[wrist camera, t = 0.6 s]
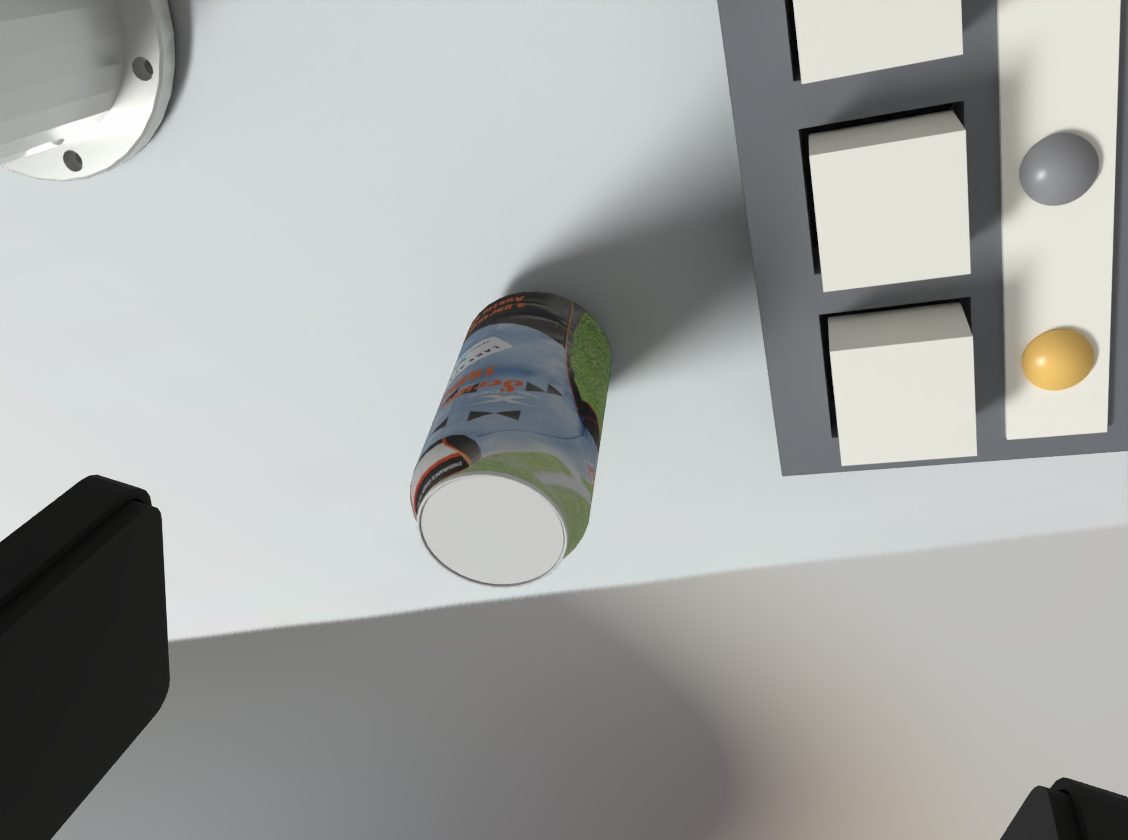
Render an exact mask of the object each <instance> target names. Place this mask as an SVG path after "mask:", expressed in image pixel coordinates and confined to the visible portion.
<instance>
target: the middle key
mask: <svg viewBox="0 0 1128 840" xmlns="http://www.w3.org/2000/svg"><path fill="white" fill-rule="evenodd" d="M809 159H810V168H811V178H812V188H813V197H814V207H815V216H816V226H817V235H818V245H819V254H820V264H821V273H822V283H823V292H829V291H837V290H845V289H853V288H861V287H869V286H877V285H885V284H893V283H901V282H909V281H917V280H925V279H933V278H941V277H949V276H957V275H965V274H971V268H970V239H969V211H968V182H967V154H966V130H965V128H964V127H963V125H962V124H961V122H960V121H959V119H958V118H957V116H956V115H955V113H954V112H953V110H947V111H942V112H936V113H930V114H924V115H918V116H912V117H906V118H901V119H895V120H889V121H883V122H877V123H871V124H866V125H860V126H854V127H848V128H842V129H836V130H830V131H825V132H819V133H813V134H809Z"/></svg>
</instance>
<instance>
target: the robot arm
mask: <svg viewBox="0 0 1128 840" xmlns="http://www.w3.org/2000/svg"><path fill="white" fill-rule="evenodd" d="M151 65H152V66H151ZM174 70H175V47H174V31H173V26H172V21H171V16H170V11H169V6H168V1H167V0H0V166H2V167H4V168H6V169H8V170H10V171H12V172H15V173H19V174H22V175H26V176H29V177H33V178H36V179H40V180H52V181H64V182H65V181H72V180H79V179H86V178H90V177H93V176H96V175H98V174H101V173H104V172H107V171H109V170H112V169H114V168H115V167H117V166H119V165H121V164H123V163H124V162H126V161H128V160H130V159H131V158H133V157H134V156H135V155H136V154H137V153H138V152H139V151H140V150H141V149H142V148H143V147H144V146H145V145H146V144H147V143H148V142H149V141H150V139H151V138H152V136H153V134H154V133H155V131H156V130H157V128H158V126H159V125H160V123H161V122H162V120H163V117H164V114H165V111H166V108H167V105H168V102H169V99H170V97H171V93H172V85H173V78H174ZM168 656H169V655H168V635H167V615H166V595H165V575H164V555H163V535H162V518H161V513H160V511H159V509H158V508H156V507H153V506H152V504H151V499H150V496H149V494H148V493H147V491H146V490H143V489H141V488H138V487H135V486H132V485H128V484H125V483H122V482H119V481H116V480H112V479H109V478H106V477H103V476H100V475H91V476H88V477H86V478H84V479H82V480H81V481H79V482H78V483H77V484H75V485H74V486H73V487H72V488H70V489H69V490H68V491H66V492H65V493H64V494H62V495H61V496H60V497H59V498H57V499H56V500H55V501H53V502H52V503H51V504H49V505H48V506H47V507H45V508H44V509H43V510H42V511H40V512H39V513H38V514H36V515H35V516H34V517H32V518H31V519H30V520H29V521H27V522H26V523H25V524H23V525H22V526H21V527H19V528H18V529H17V530H15V531H14V532H13V533H12V534H10V535H9V536H8V537H6V538H5V539H4V540H2V541H1V542H0V840H51V838H52V837H53V836H54V835H55V834H56V832H57V831H58V830H59V829H60V828H61V826H62V825H63V824H64V823H65V822H66V821H67V819H68V818H69V817H70V816H71V815H72V813H73V812H74V811H75V810H76V809H77V807H78V806H79V805H80V804H81V803H82V801H83V800H84V799H85V798H86V797H87V796H88V794H89V793H90V792H91V791H92V790H93V788H94V787H95V786H96V785H97V784H98V783H99V781H100V780H101V779H102V778H103V777H104V775H105V774H106V773H107V772H108V771H109V769H110V768H111V767H112V766H113V765H114V763H115V762H116V761H117V760H118V759H119V757H120V756H121V755H122V754H123V753H124V752H125V750H126V749H127V748H128V747H129V746H130V744H131V743H132V742H133V741H134V740H135V738H136V737H137V736H138V735H139V734H140V733H141V731H142V730H143V729H144V728H145V727H146V726H147V724H148V723H149V722H150V721H151V720H152V718H153V717H154V716H155V715H156V713H157V712H158V711H159V709H160V708H161V706H162V704H163V702H164V700H165V697H166V695H167V692H168V688H169V681H170V675H169V657H168ZM1000 840H1128V797H1126V796H1123V795H1120V794H1117V793H1114V792H1110V791H1107V790H1104V789H1101V788H1097V787H1094V786H1091V785H1088V784H1084V783H1082V782H1078V781H1075V780H1072V779H1069V778H1061V779H1059V780H1057V781H1056V782H1055V783H1054V784H1053V785H1052V787H1051V788H1046V787H1043V786H1037V787H1035V788H1034V789H1033V790H1032V791H1031V792H1030V794H1029V795H1028V797H1027V798H1026V800H1025V801H1024V803H1023V805H1022V806H1021V808H1020V809H1019V811H1018V812H1017V814H1016V816H1015V817H1014V819H1013V820H1012V822H1011V823H1010V825H1009V826H1008V828H1007V830H1006V831H1005V833H1004V834H1003V836H1002V837H1001V839H1000Z"/></svg>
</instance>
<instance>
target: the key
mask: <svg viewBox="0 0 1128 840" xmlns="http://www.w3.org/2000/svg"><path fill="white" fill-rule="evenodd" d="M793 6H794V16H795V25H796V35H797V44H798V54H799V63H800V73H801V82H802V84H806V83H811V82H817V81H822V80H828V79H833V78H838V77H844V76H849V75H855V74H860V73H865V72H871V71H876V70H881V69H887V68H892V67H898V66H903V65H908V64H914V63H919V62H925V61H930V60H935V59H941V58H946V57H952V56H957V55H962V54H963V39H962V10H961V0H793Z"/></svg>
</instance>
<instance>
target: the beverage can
mask: <svg viewBox="0 0 1128 840" xmlns="http://www.w3.org/2000/svg"><path fill="white" fill-rule="evenodd" d="M611 364H612V361H611V350H610V346H609V343H608V340H607V337H606V335H605V333H604V331H603V329H602V328H601V327H600V325H599V324H598V323H597V321H596V320H595V319H594V318H593V317H592V316H591V315H590V314H589V313H588V312H587V311H586V310H584V309H583V308H581V307H580V306H578V305H577V304H576V303H574V302H572V301H569V300H567V299H565V298H563V297H560V296H556V295H553V294H549V293H542V292H522V293H516V294H511V295H508V296H505V297H503V298H500V299H498V300H496V301H494V302H493V303H491V304H489V305H488V306H487V307H486V308H485V309H483V310H482V311H481V312H480V313H479V314H478V316H477V317H476V318H475V319H474V321H473V322H472V324H471V326H470V328H469V331H468V333H467V335H466V338H465V341H464V343H463V346H462V348H461V351H460V354H459V356H458V359H457V361H456V364H455V366H454V369H453V372H452V374H451V377H450V379H449V382H448V385H447V387H446V390H445V392H444V395H443V397H442V400H441V403H440V405H439V408H438V410H437V413H436V416H435V418H434V421H433V423H432V426H431V428H430V431H429V434H428V436H427V439H426V441H425V444H424V447H423V449H422V452H421V454H420V457H419V460H418V462H417V465H416V467H415V470H414V473H413V477H412V481H411V486H410V500H411V505H412V509H413V514H414V517H415V519H416V521H417V529H418V533H419V538H420V540H421V542H422V544H423V546H424V548H425V549H426V551H427V552H428V554H429V555H430V556H431V557H432V558H433V560H434V561H435V562H436V563H437V564H438V565H440V566H441V567H442V568H444V569H445V570H446V571H448V572H449V573H451V574H453V575H454V576H456V577H458V578H460V579H463V580H465V581H467V582H470V583H473V584H477V585H481V586H486V587H493V588H513V587H521V586H525V585H529V584H532V583H534V582H537V581H539V580H541V579H543V578H544V577H546V576H547V575H549V574H550V573H551V572H552V571H554V570H555V569H556V568H557V567H558V565H559V564H560V562H561V561H562V560H563V559H564V558H565V557H566V556H567V555H568V554H569V553H570V552H571V551H573V550H574V549H575V547H576V546H577V544H578V543H579V542H580V540H581V539H582V537H583V535H584V533H585V530H586V528H587V525H588V522H589V516H590V509H591V502H592V495H593V488H594V481H595V474H596V468H597V461H598V454H599V447H600V440H601V433H602V426H603V419H604V412H605V405H606V398H607V391H608V385H609V378H610V371H611Z"/></svg>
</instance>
